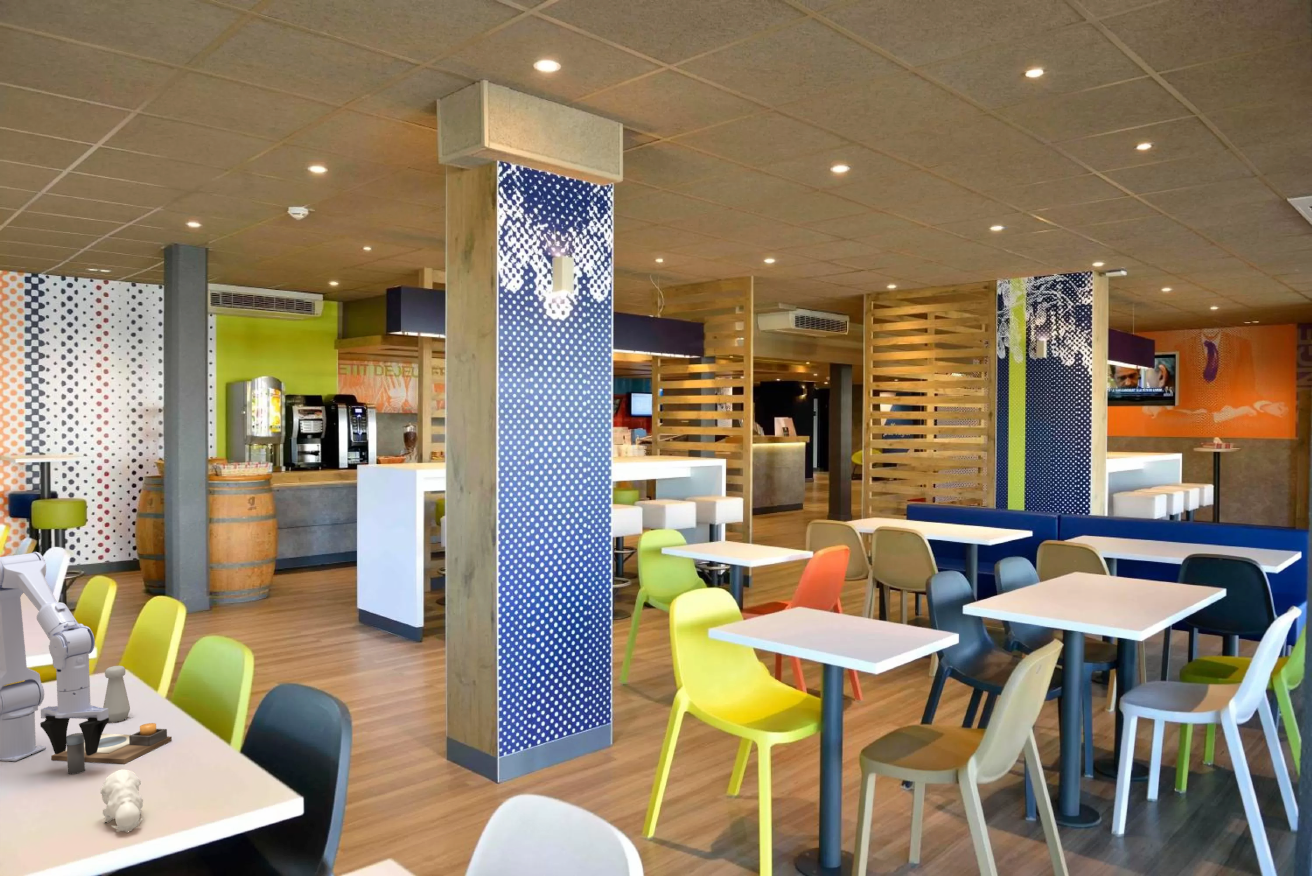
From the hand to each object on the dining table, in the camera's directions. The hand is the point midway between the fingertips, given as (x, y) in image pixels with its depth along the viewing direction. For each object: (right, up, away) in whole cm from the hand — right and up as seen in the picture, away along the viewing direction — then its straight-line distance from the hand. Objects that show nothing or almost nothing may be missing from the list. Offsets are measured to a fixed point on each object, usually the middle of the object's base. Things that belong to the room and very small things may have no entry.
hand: (76, 753), depth 188 cm
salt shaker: (-12, -4, +34) cm, 36 cm away
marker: (0, -4, 0) cm, 4 cm away
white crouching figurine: (+26, -4, -26) cm, 37 cm away
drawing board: (0, -4, +12) cm, 13 cm away
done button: (+7, -1, +15) cm, 16 cm away
